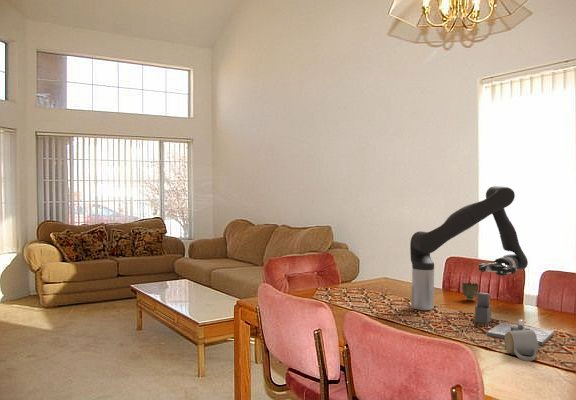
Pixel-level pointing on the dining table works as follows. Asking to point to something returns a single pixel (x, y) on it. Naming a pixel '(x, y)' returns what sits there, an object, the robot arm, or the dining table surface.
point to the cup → (470, 290)
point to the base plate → (506, 327)
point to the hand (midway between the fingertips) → (492, 270)
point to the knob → (483, 308)
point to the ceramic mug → (522, 344)
